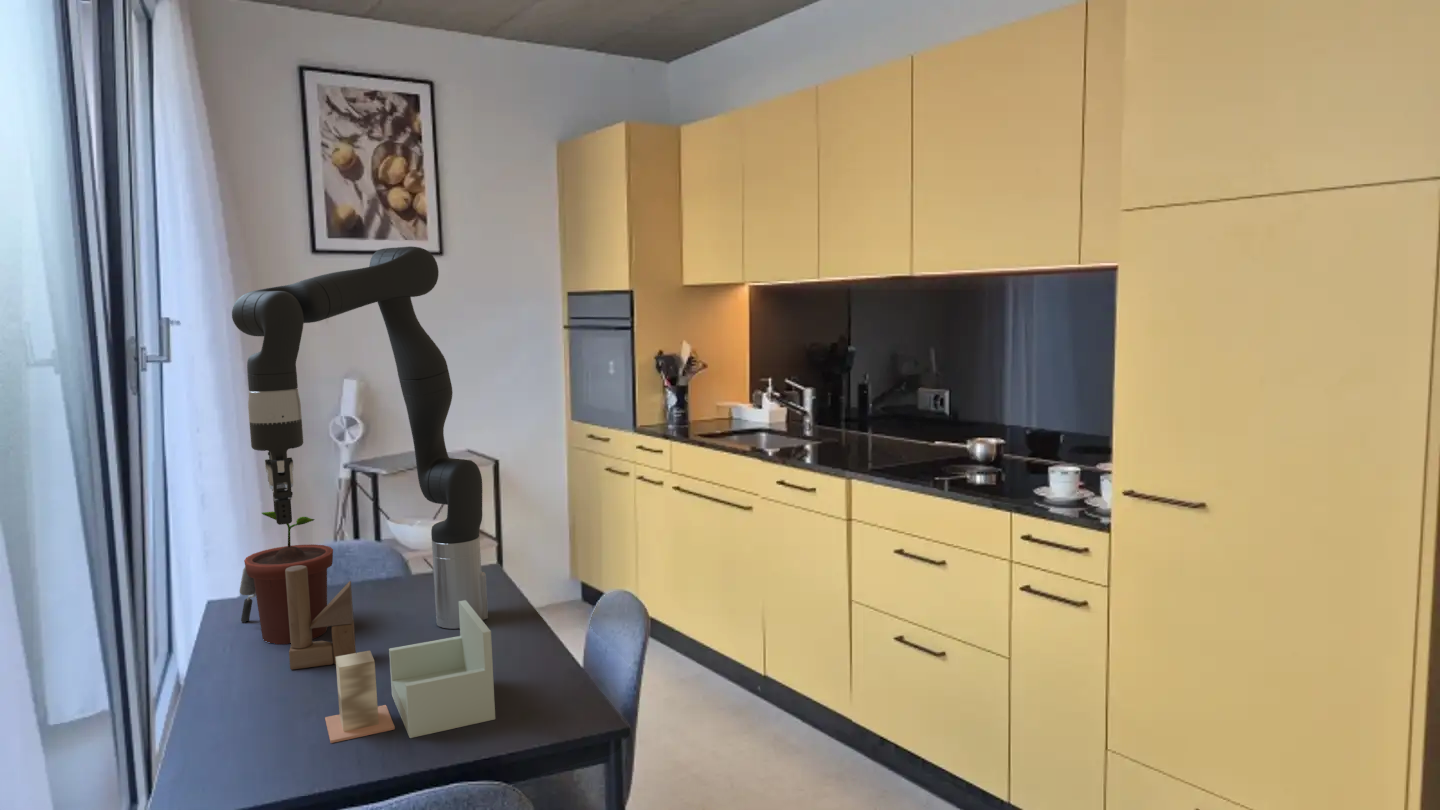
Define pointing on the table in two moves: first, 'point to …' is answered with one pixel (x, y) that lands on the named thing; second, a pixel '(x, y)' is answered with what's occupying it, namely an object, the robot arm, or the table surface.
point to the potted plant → (284, 584)
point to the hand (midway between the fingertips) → (283, 518)
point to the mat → (338, 734)
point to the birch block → (357, 690)
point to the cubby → (445, 679)
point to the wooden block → (317, 623)
